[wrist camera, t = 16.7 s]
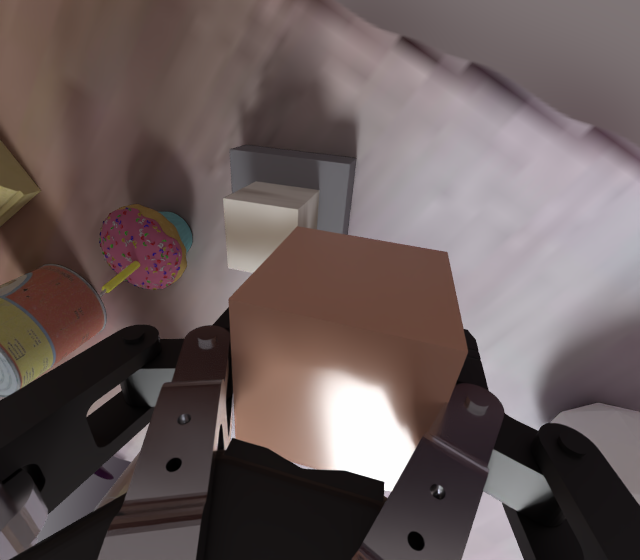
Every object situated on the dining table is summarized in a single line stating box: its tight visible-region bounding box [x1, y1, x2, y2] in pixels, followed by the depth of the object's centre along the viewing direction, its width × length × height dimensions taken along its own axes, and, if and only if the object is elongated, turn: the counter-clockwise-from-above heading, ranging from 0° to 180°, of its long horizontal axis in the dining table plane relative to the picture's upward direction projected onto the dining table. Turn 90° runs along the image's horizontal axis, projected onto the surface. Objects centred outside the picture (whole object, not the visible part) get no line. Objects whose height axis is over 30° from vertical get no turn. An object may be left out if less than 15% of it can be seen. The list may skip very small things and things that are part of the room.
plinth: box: [230, 145, 357, 235], centre depth 30 cm, size 10×10×3 cm
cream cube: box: [223, 181, 319, 273], centre depth 27 cm, size 6×6×6 cm
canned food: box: [0, 264, 106, 397], centre depth 41 cm, size 11×11×12 cm
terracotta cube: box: [229, 226, 468, 491], centre depth 11 cm, size 6×6×6 cm
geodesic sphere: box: [550, 403, 640, 505], centre depth 28 cm, size 14×14×14 cm
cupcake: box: [99, 204, 192, 297], centre depth 32 cm, size 9×8×12 cm
